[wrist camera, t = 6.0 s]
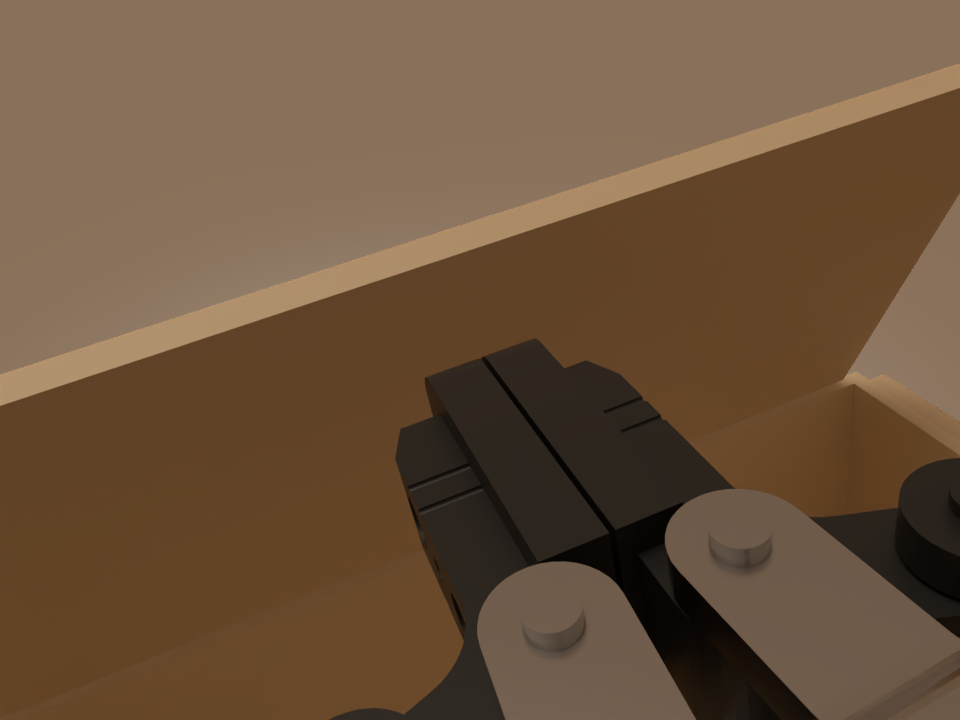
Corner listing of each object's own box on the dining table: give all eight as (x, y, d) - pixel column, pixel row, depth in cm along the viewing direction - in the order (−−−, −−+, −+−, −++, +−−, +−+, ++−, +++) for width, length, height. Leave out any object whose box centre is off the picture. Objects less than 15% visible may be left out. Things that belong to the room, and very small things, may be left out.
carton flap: (-494, 568, 10) (-484, 524, 10) (-35, 732, 18) (-37, 705, 18) (1042, 60, 14) (1017, 39, 14) (843, 379, 22) (829, 362, 23)
